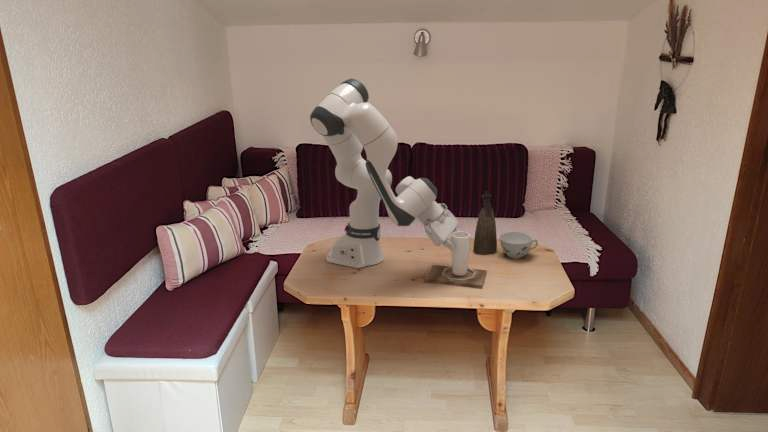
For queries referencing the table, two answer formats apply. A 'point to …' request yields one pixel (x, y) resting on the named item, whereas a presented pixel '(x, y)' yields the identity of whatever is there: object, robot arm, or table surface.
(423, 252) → the table surface
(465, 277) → the walnut board
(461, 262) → the drinking glass
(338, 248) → the robot arm
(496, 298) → the table surface
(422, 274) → the table surface
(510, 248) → the teacup
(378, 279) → the table surface
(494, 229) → the statue
